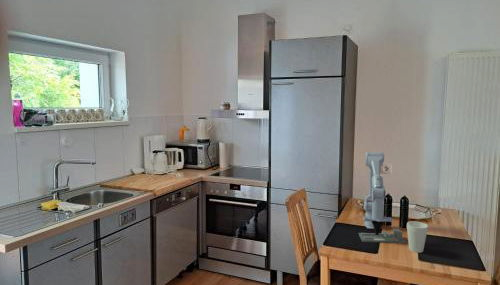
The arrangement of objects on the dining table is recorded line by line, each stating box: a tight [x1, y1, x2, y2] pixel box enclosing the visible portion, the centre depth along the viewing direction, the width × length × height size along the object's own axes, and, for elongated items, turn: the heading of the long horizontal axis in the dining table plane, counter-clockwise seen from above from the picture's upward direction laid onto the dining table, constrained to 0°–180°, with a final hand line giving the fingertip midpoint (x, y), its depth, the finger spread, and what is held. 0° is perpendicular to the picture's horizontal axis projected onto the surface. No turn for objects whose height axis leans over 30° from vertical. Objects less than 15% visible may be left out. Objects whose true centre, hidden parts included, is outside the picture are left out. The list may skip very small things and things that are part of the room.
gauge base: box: [358, 228, 407, 244], centre depth 186 cm, size 10×22×4 cm, turn 85°
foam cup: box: [406, 220, 429, 254], centre depth 171 cm, size 10×9×13 cm
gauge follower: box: [381, 230, 391, 237], centre depth 184 cm, size 6×3×2 cm, turn 175°
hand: (376, 234), depth 186 cm, fingers closed
